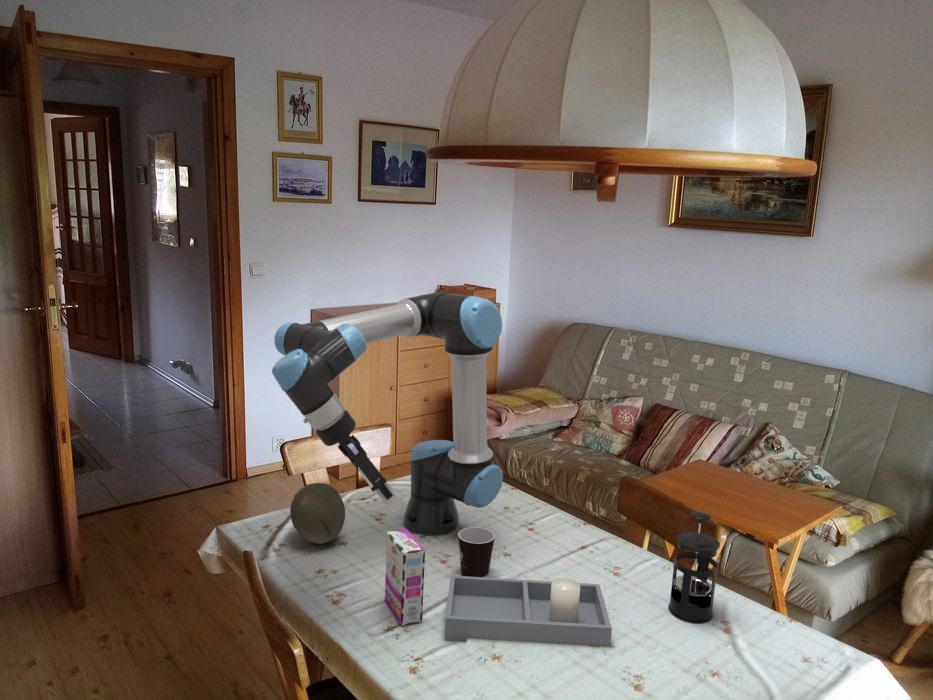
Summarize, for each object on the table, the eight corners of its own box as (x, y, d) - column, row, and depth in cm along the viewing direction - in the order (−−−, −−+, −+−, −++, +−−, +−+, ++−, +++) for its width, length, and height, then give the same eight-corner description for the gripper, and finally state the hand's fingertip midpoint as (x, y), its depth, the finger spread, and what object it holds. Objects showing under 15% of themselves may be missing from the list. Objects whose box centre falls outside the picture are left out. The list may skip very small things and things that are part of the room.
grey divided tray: (449, 595, 159) (450, 575, 158) (597, 603, 158) (599, 584, 157) (444, 639, 142) (445, 618, 141) (609, 650, 141) (611, 628, 140)
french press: (702, 630, 149) (713, 528, 145) (660, 613, 155) (670, 515, 151) (721, 607, 158) (733, 511, 154) (680, 592, 164) (691, 499, 160)
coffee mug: (489, 585, 164) (491, 545, 162) (452, 580, 165) (454, 540, 163) (497, 562, 175) (499, 524, 173) (463, 557, 176) (464, 520, 175)
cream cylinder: (548, 611, 153) (550, 577, 151) (575, 612, 152) (578, 578, 151) (550, 627, 147) (552, 591, 145) (579, 628, 147) (581, 593, 145)
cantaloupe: (352, 532, 188) (353, 478, 185) (333, 556, 174) (334, 499, 171) (302, 526, 190) (302, 473, 187) (279, 550, 176) (279, 493, 174)
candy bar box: (424, 622, 148) (426, 549, 145) (401, 627, 146) (403, 553, 143) (405, 596, 158) (407, 527, 155) (383, 600, 156) (385, 530, 153)
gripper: (304, 419, 152) (359, 492, 159) (327, 446, 129) (390, 530, 136) (332, 397, 154) (386, 470, 161) (360, 421, 131) (421, 505, 138)
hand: (388, 498), depth 148 cm, fingers open, 13 cm apart
